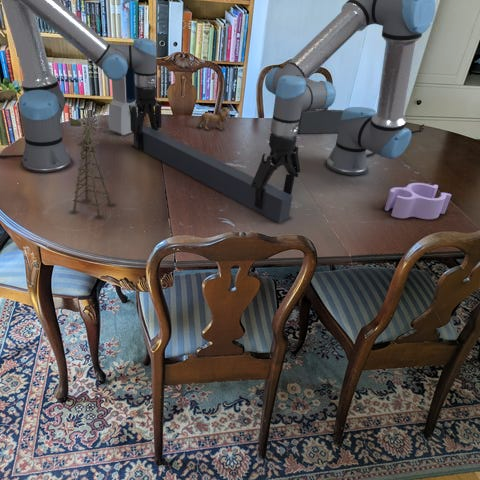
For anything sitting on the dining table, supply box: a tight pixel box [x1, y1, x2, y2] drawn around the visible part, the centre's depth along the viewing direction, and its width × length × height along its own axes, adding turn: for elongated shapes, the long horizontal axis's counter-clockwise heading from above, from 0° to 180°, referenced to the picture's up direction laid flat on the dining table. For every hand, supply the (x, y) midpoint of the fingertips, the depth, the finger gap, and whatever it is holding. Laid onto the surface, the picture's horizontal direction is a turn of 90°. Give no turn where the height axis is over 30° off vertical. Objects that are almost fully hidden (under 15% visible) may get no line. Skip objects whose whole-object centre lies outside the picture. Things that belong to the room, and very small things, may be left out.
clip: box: [384, 182, 452, 220], centre depth 153 cm, size 20×12×7 cm, turn 109°
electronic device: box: [107, 68, 138, 136], centre depth 184 cm, size 12×8×30 cm, turn 148°
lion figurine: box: [196, 107, 231, 131], centre depth 201 cm, size 15×5×9 cm, turn 110°
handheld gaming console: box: [297, 109, 345, 134], centre depth 210 cm, size 23×3×10 cm, turn 108°
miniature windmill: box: [69, 107, 112, 218], centre depth 129 cm, size 9×8×30 cm
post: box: [132, 124, 293, 224], centre depth 160 cm, size 72×5×8 cm, turn 47°
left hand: (146, 147), depth 178 cm, fingers closed on post, 5 cm apart
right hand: (273, 201), depth 142 cm, fingers open, 13 cm apart
